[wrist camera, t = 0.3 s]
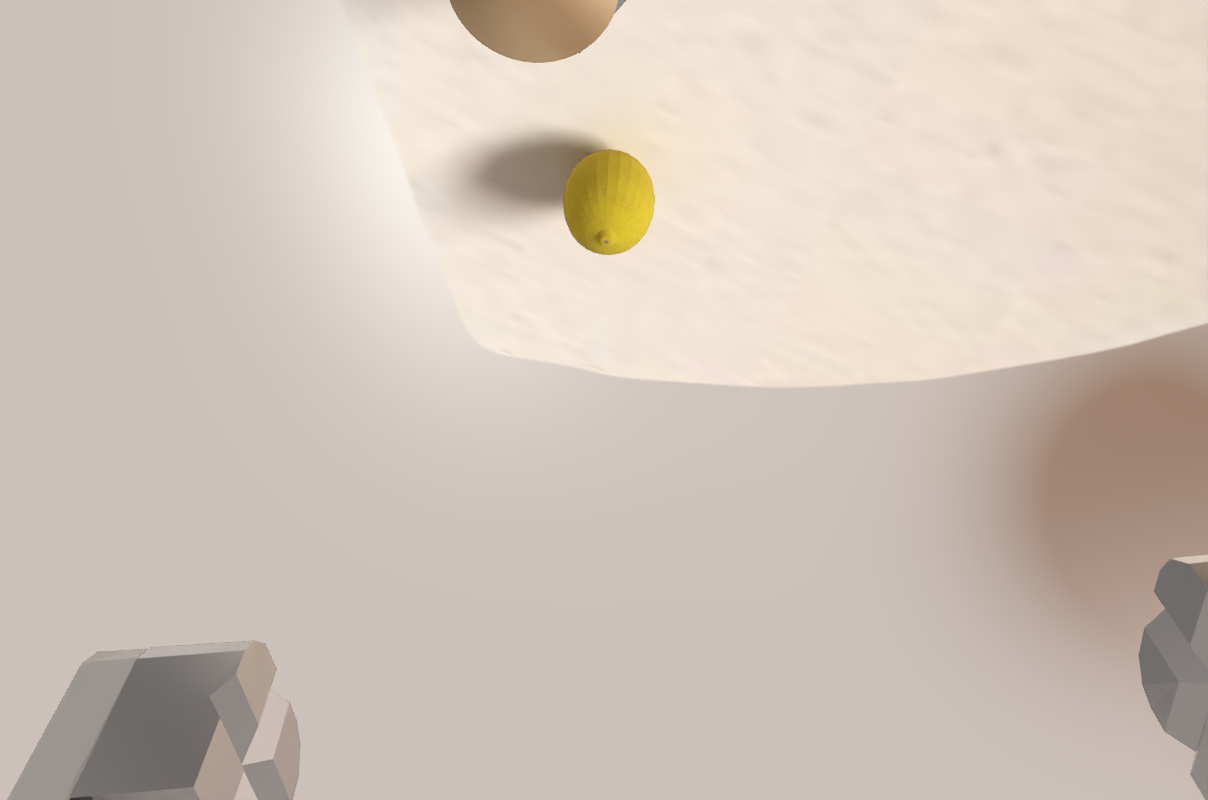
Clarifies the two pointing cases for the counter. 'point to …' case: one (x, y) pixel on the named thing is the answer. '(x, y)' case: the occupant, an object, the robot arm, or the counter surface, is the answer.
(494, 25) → the stopper
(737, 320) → the counter surface
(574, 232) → the lemon
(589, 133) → the counter surface
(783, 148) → the counter surface
